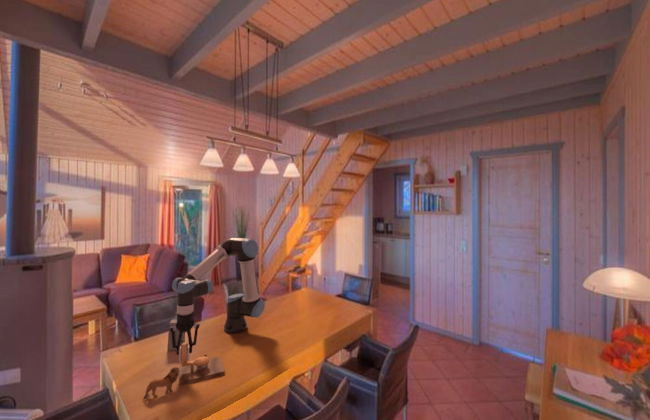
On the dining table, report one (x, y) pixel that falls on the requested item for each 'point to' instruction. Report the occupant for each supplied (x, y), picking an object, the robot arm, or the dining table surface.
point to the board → (201, 371)
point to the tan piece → (197, 362)
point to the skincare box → (170, 347)
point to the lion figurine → (163, 382)
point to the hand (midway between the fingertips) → (184, 360)
